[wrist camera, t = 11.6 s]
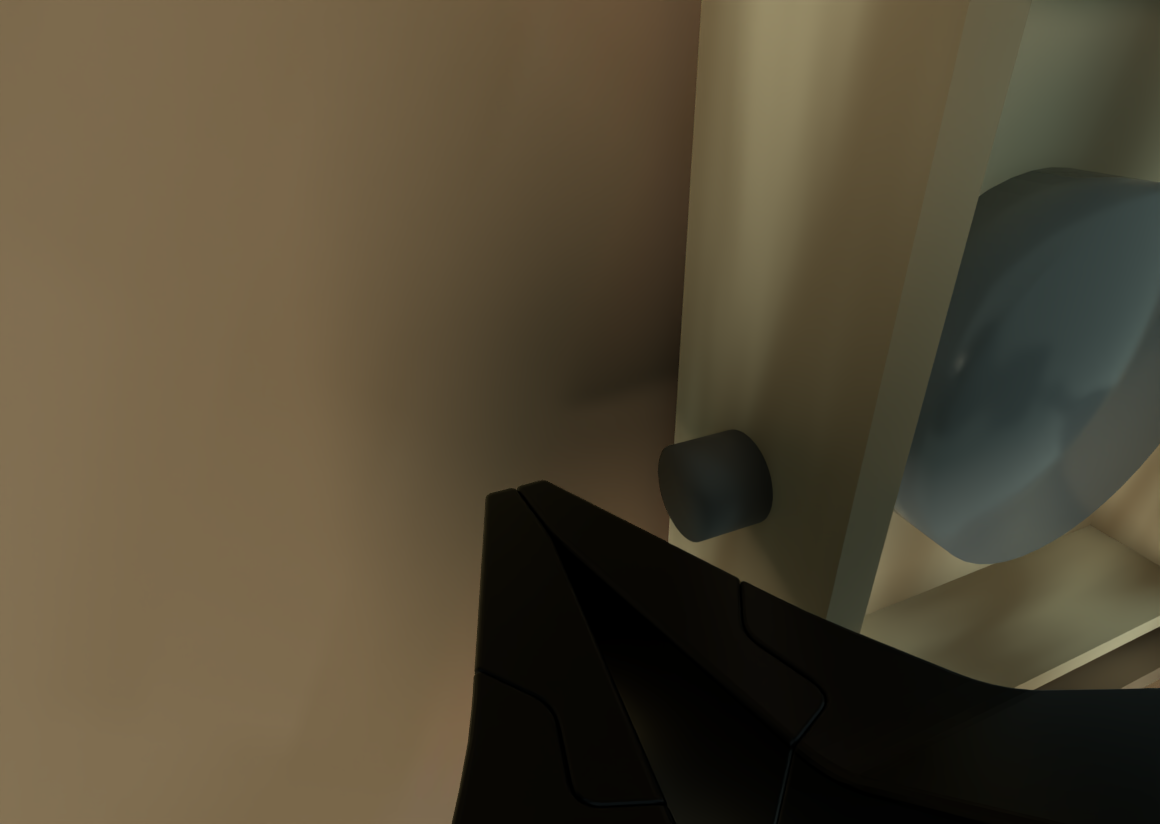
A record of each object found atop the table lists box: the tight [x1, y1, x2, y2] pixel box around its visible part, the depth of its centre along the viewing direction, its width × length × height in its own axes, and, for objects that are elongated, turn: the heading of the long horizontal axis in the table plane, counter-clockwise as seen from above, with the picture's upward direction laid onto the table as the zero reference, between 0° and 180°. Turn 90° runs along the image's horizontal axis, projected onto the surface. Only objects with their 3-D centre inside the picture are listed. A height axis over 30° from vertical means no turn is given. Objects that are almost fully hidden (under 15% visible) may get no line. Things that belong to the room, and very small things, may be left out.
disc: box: [893, 167, 1160, 564], centre depth 12 cm, size 7×7×2 cm
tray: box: [658, 0, 1160, 690], centre depth 12 cm, size 15×15×4 cm
